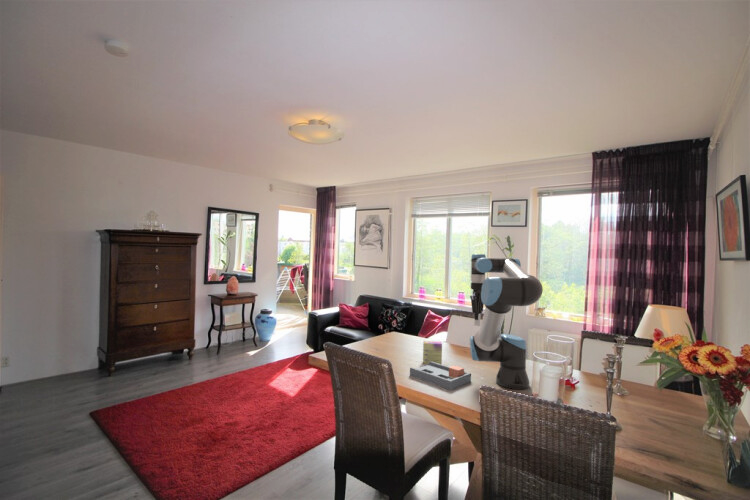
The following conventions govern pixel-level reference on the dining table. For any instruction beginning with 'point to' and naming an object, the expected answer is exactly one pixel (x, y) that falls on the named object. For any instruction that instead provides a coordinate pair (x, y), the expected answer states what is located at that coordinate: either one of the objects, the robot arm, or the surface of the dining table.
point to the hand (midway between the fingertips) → (477, 325)
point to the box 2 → (439, 375)
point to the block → (456, 371)
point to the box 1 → (432, 352)
